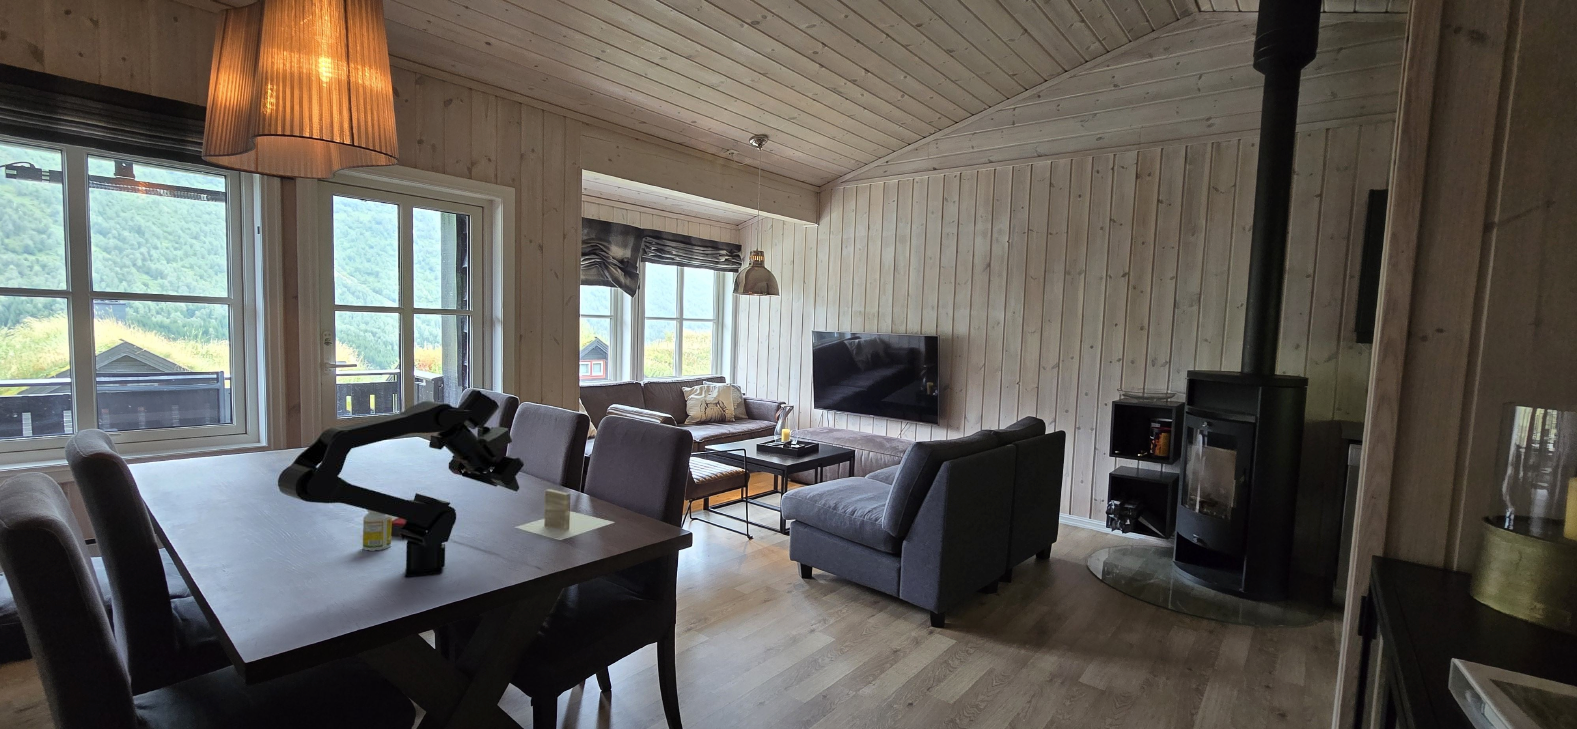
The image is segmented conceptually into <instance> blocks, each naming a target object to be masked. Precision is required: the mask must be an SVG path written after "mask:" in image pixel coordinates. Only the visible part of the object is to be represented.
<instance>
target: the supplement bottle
mask: <svg viewBox="0 0 1577 729" xmlns="http://www.w3.org/2000/svg"><path fill="white" fill-rule="evenodd" d="M366 510H367V509H366ZM367 512H368V513H366V514H365V515H364V516H363V519H362V520H363V522H362V523H363V526H362V527H363V528H362V548H363V550H365V551H367V550H369V551H368V552H375V550H378V551H382V549H383V550H385V549H388V548H390V547H391V546H392V536H391V527H392V516H390V515H386V514H382V513H378V512H374V511H371V510H367Z"/></svg>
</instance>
